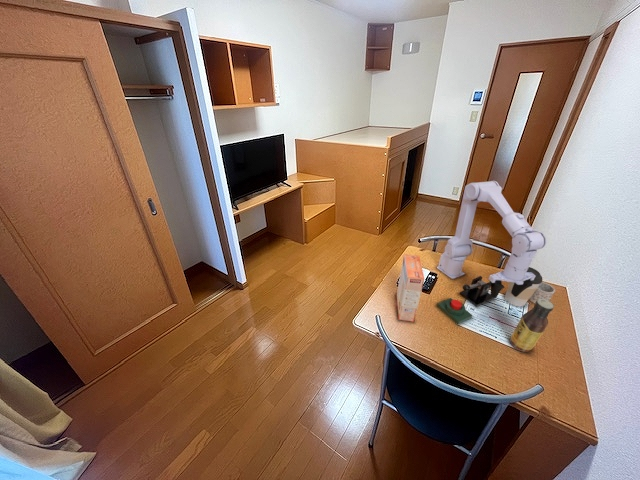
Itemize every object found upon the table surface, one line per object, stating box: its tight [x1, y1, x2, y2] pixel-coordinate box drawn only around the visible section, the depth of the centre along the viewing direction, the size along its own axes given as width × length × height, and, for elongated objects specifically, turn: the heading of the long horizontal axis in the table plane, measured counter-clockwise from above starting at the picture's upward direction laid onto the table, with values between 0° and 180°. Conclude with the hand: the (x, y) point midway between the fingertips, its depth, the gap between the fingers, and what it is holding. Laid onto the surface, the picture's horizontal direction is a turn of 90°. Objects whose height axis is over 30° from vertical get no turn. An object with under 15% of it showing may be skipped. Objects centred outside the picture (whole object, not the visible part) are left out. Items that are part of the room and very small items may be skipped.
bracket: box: [459, 275, 495, 308], centre depth 104 cm, size 10×8×8 cm
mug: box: [528, 281, 556, 304], centre depth 103 cm, size 10×7×7 cm
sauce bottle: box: [509, 299, 555, 353], centre depth 81 cm, size 6×6×20 cm
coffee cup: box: [504, 266, 543, 307], centre depth 100 cm, size 9×9×15 cm
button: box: [450, 299, 463, 310], centre depth 97 cm, size 4×4×2 cm
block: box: [436, 297, 473, 325], centre depth 98 cm, size 10×7×4 cm
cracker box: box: [396, 253, 425, 323], centre depth 97 cm, size 14×6×21 cm, turn 168°
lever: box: [462, 279, 487, 291], centre depth 101 cm, size 12×3×3 cm, turn 115°
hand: (503, 295), depth 92 cm, fingers open, 7 cm apart
